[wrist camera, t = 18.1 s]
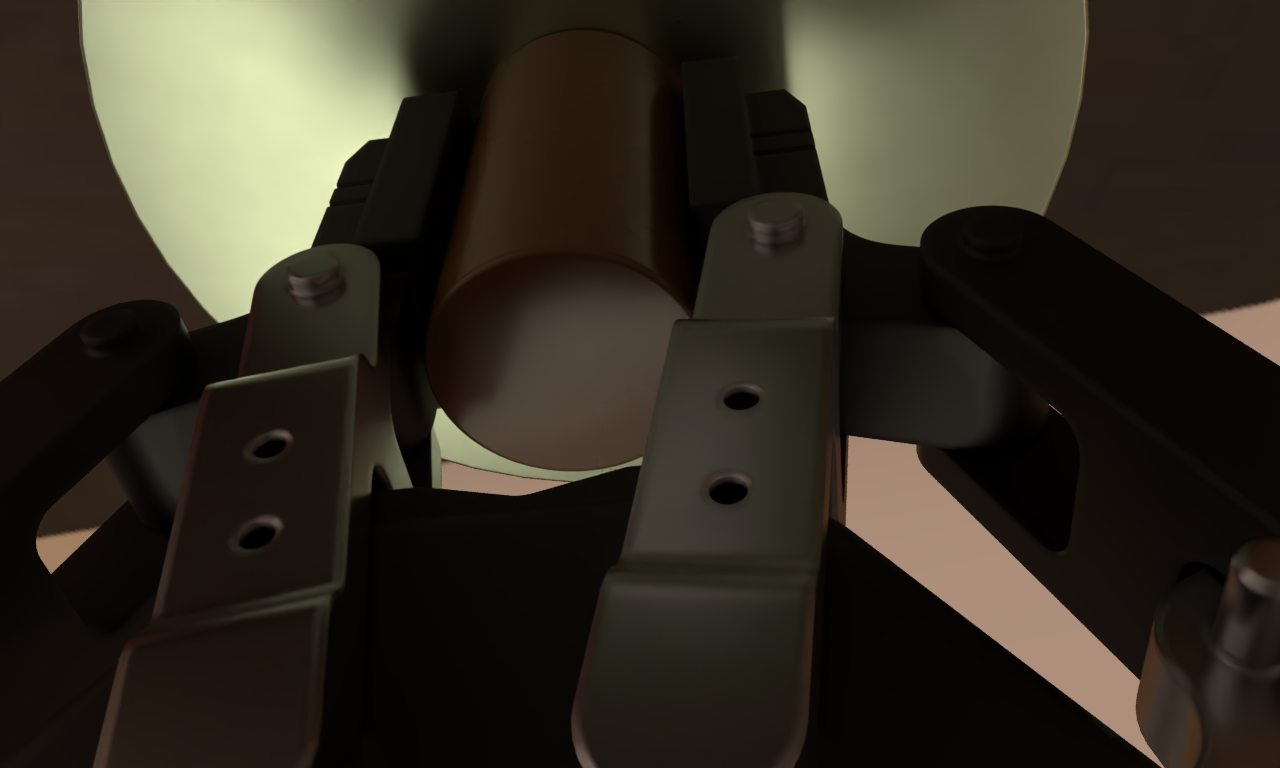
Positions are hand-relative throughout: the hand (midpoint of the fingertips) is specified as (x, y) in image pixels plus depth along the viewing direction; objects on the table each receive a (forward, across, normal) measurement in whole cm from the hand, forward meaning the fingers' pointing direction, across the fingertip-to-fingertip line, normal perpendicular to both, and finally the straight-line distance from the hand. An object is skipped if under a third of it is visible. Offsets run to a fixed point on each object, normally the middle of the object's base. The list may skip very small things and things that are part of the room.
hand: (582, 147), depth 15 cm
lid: (+1, 0, 0) cm, 1 cm away
